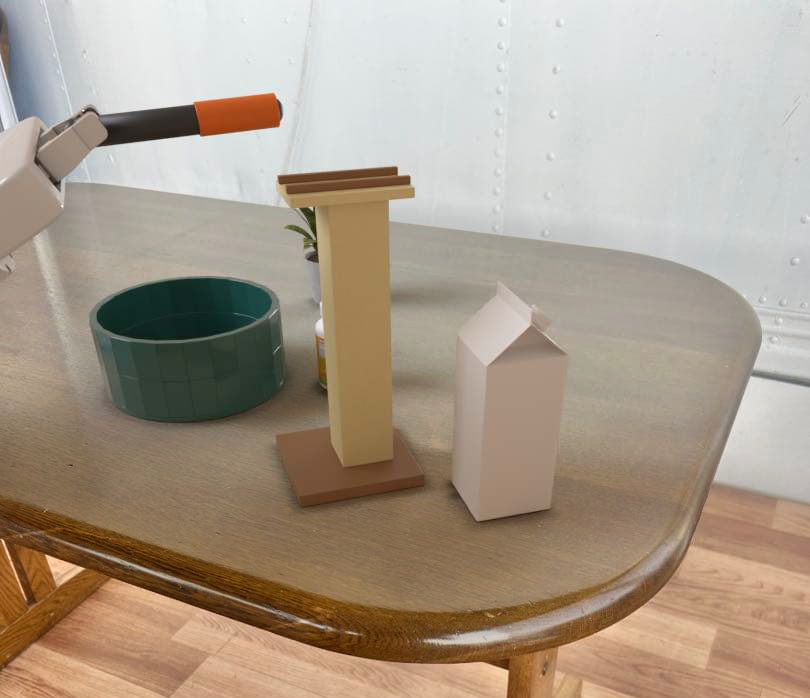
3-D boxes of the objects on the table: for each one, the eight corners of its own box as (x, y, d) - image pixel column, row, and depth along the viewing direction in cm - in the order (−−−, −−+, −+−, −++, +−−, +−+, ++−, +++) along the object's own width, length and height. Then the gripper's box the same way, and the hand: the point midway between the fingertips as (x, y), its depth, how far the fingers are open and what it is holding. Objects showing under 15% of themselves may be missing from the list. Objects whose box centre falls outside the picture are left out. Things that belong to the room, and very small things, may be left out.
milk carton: (476, 523, 72) (489, 316, 60) (450, 482, 77) (457, 285, 66) (550, 510, 73) (575, 306, 62) (520, 471, 79) (538, 276, 68)
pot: (109, 434, 85) (89, 354, 80) (105, 358, 101) (88, 286, 96) (302, 406, 90) (295, 328, 85) (269, 337, 106) (261, 268, 101)
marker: (68, 156, 58) (57, 120, 56) (67, 149, 59) (58, 114, 58) (288, 129, 61) (284, 95, 60) (282, 122, 63) (278, 89, 61)
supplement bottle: (336, 369, 98) (331, 290, 92) (374, 379, 96) (371, 298, 90) (310, 386, 94) (303, 305, 88) (348, 397, 92) (344, 314, 86)
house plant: (358, 326, 109) (353, 198, 99) (265, 314, 112) (251, 189, 103) (393, 291, 120) (392, 172, 110) (308, 281, 123) (299, 166, 114)
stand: (300, 507, 74) (269, 201, 58) (276, 445, 83) (244, 166, 67) (424, 485, 77) (427, 187, 61) (388, 427, 86) (382, 156, 70)
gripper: (-113, 236, 49) (66, 97, 48) (-68, 165, 65) (68, 58, 64) (-28, 317, 53) (140, 190, 52) (-5, 231, 69) (124, 133, 68)
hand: (100, 117), depth 58 cm, fingers closed on marker, 2 cm apart
